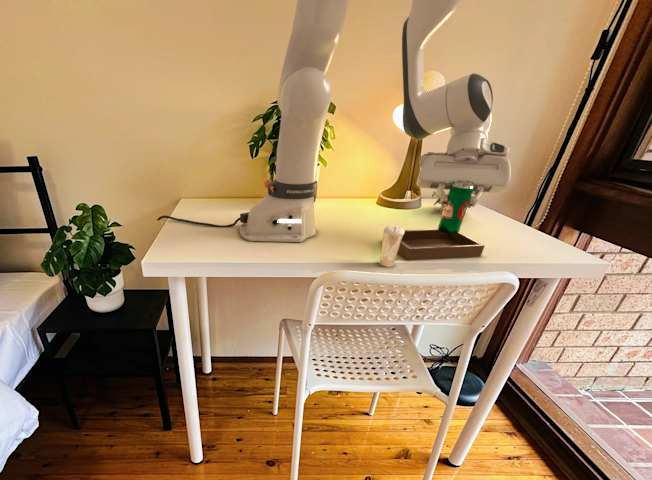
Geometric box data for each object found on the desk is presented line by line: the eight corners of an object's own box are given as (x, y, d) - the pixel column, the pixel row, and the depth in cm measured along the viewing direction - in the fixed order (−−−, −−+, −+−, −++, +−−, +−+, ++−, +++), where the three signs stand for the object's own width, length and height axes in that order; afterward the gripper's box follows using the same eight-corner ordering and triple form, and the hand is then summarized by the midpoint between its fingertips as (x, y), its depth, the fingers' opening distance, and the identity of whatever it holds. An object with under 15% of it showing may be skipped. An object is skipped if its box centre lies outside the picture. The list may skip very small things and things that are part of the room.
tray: (406, 260, 91) (409, 249, 89) (382, 241, 102) (385, 231, 101) (480, 256, 93) (485, 245, 91) (449, 238, 104) (452, 228, 102)
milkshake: (375, 267, 87) (384, 225, 82) (376, 259, 92) (386, 218, 86) (395, 270, 86) (406, 227, 80) (396, 262, 90) (406, 220, 84)
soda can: (433, 228, 97) (448, 179, 91) (453, 228, 97) (469, 179, 91) (442, 234, 93) (458, 184, 86) (462, 234, 93) (480, 184, 86)
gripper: (424, 143, 93) (415, 193, 91) (517, 147, 87) (510, 200, 85) (418, 160, 99) (409, 207, 97) (505, 164, 93) (498, 214, 91)
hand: (457, 204), depth 91 cm, fingers closed on soda can, 5 cm apart
